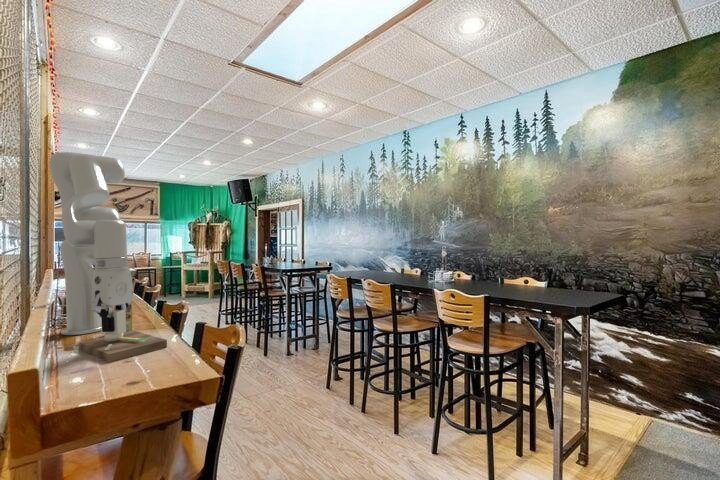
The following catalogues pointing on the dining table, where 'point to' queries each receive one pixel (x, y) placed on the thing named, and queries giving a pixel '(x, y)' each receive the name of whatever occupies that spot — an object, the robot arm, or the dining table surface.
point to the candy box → (129, 318)
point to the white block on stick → (117, 327)
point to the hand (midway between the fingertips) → (114, 329)
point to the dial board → (122, 346)
